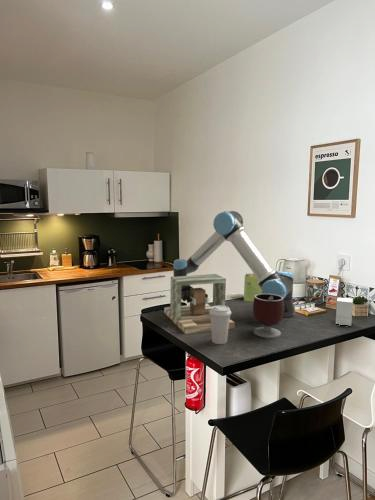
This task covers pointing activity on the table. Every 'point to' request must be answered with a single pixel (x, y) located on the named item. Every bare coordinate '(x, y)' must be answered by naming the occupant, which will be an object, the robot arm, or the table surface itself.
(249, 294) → the protein box
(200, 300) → the walnut block
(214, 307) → the coffee cup
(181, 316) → the tunnel
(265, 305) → the mate gourd
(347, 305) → the supplement box
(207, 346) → the table surface
